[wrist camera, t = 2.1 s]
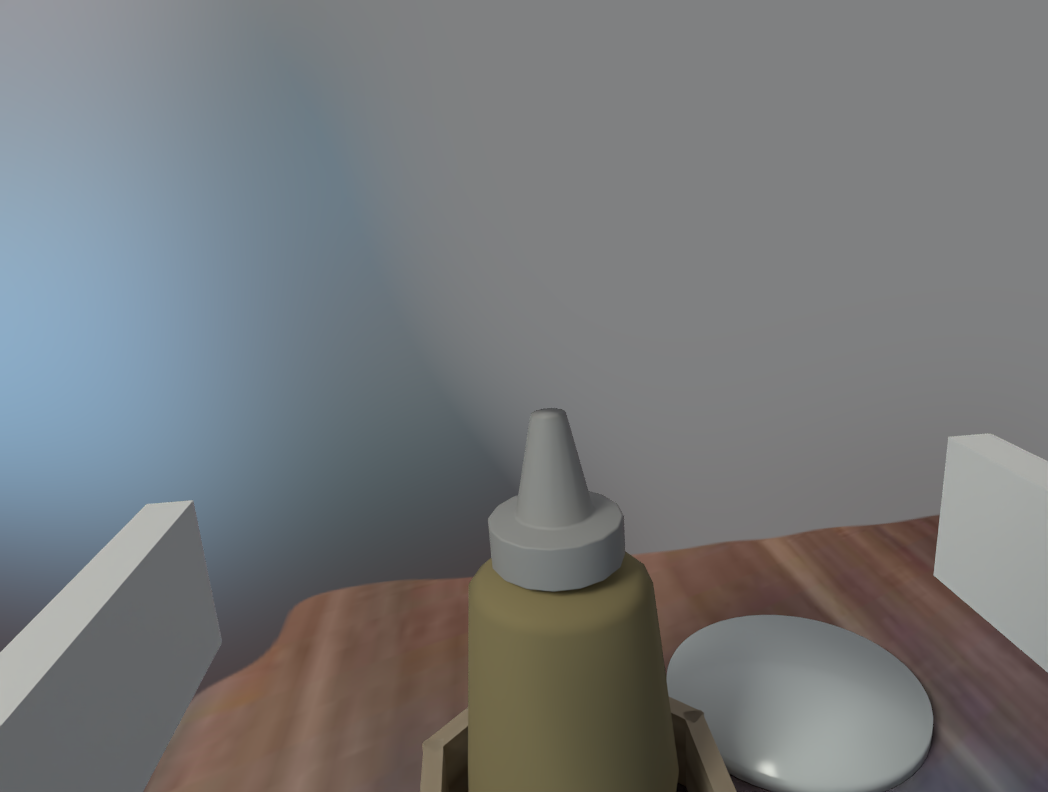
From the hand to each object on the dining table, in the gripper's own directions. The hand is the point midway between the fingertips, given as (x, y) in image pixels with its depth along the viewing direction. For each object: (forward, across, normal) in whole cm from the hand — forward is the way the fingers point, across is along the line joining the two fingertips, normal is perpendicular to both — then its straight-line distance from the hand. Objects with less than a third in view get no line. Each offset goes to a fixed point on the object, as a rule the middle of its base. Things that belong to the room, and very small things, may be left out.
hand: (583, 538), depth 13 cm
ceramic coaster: (+18, +12, -19) cm, 29 cm away
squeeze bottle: (+12, +1, -20) cm, 23 cm away
